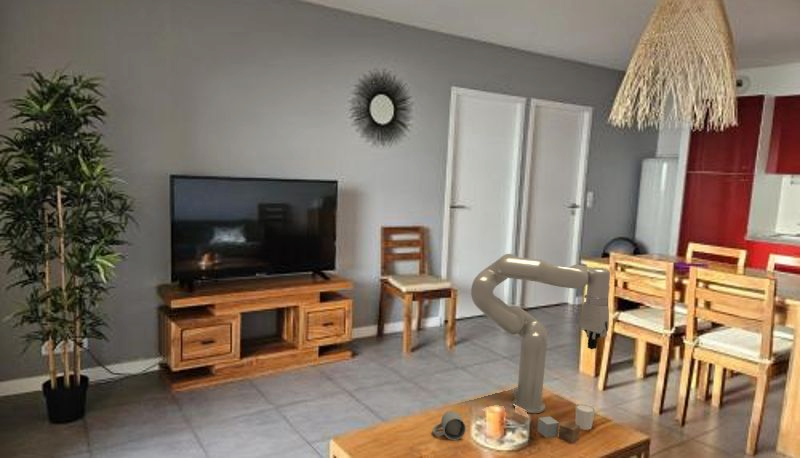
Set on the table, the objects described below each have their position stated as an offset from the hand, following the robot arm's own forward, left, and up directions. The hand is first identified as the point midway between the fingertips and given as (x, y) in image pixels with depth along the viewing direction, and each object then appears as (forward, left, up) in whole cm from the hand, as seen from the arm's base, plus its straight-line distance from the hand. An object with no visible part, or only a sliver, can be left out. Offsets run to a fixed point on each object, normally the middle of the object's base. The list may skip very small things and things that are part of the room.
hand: (591, 348), depth 204 cm
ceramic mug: (-12, -57, -27) cm, 64 cm away
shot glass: (+5, -7, -27) cm, 29 cm away
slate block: (+3, -24, -27) cm, 36 cm away
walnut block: (+9, -20, -27) cm, 35 cm away
